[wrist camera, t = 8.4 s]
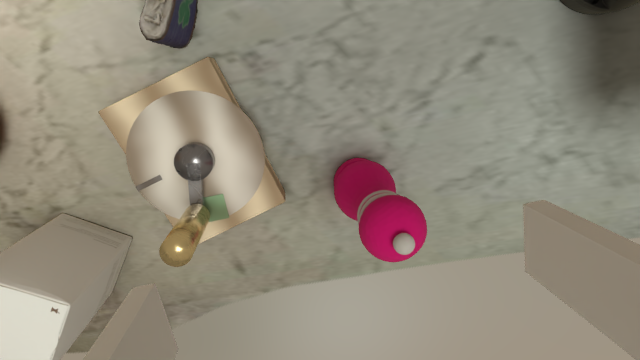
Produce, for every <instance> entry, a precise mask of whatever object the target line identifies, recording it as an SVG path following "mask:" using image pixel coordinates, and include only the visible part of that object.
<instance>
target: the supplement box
mask: <svg viewBox="0 0 640 360" xmlns="http://www.w3.org/2000/svg"><path fill="white" fill-rule="evenodd" d="M131 241H132V237H130V236H127V235H125V234H122V233H119V232H116V231H113V230H110V229H107V228H105V227H102V226H99V225H96V224H93V223H90V222H88V221H85V220H82V219H79V218H76V217H73V216H70V215H67V214H64V213H62V214H60V215H59V216H57V217H55V218H54V219H52V220H51V221H49V222H48V223H46V224H44V225H43V226H41V227H40V228H38V229H37V230H35V231H33V232H32V233H30V234H29V235H27V236H26V237H24V238H22V239H21V240H19V241H18V242H16V243H15V244H13V245H12V246H10V247H8V248H7V249H5V250H4V251H2V252H0V360H61V358H62V357H63V356H64V354H65V353H66V352H67V351H68V349H69V348H70V347H71V345H72V344H73V343H74V341H75V340H76V339H77V337H78V336H79V335H80V333H81V332H82V331H83V330H84V328H85V327H86V326H87V324H88V323H89V322H90V320H91V319H92V318H93V317H94V315H95V314H96V313H97V311H98V310H99V309H100V307H101V306H102V305H103V303H104V302H105V301H106V300H107V298H108V297H109V296H110V294H111V293H112V291H113V289H114V286H115V284H116V281H117V278H118V276H119V273H120V270H121V268H122V265H123V262H124V260H125V257H126V254H127V252H128V249H129V246H130V244H131Z"/></svg>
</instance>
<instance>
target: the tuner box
mask: <svg viewBox="0 0 640 360" xmlns="http://www.w3.org/2000/svg"><path fill="white" fill-rule="evenodd" d="M98 112H99V114H100V116H101V117H102V119H103V120H104V122H105V123H106V125H107V126H108V128H109V129H110V131H111V132H112V134H113V135H114V137H115V138H116V140H117V142H118V143H119V145H120V146H121V148H122V149H123V151H124V152H125V154H126V158H127V165H128V169H129V173H130V175H131V178H132V180H133V182H134V184H135V185H136V188H137V190H138V191H139V192H140V193H141V194H142V196H143V197H144V198H145V199H146V200H147V201H148V202H149V203H150V204H152V205H153V206H154V207H155V208H157V209H158V210H160V211H162V212H163V213H164V214H165V215H166V217H167V218H168V220H169V221H170V223H171V224H172V226H173V227H174V226H175V225H176V223H177V222H178V220H179V219H180V217H181V216H182V214H183V213H184V212H185V210H186V209H187V208H188V207H189V206H190V200H189V188H188V180H186V179H184V178H182V177H181V176H180V175H179V174H178V173H177V171H176V169H175V167H174V157H175V154H176V153H177V151H178V150H179V149H180V148H182V147H183V146H184V145H186V144H188V143H191V142H200V143H203V144H205V145H207V146H208V147H209V148H210V149H211V150H212V152H213V154H214V157H215V165H214V167H213V169H212V171H211V172H210V174H209V175H208V176H207V177H206V178H204V179H203V185H204V199H205V207H206V208H207V209H208V210H209V212H210V220H209V222H208V224H207V227H206V229H205V231H204V233H203V235H202V237H201V239H200V241H199V243H201V242H203V241H206V240H208V239H210V238H212V237H214V236H216V235H218V234H220V233H222V232H224V231H226V230H228V229H230V228H232V227H234V226H236V225H238V224H240V223H242V222H245V221H247V220H249V219H251V218H253V217H255V216H257V215H259V214H261V213H263V212H265V211H267V210H269V209H271V208H273V207H275V206H277V205H279V204H282V203H284V202H285V191H284V189H283V187H282V185H281V183H280V181H279V179H278V178H277V176H276V174H275V172H274V170H273V168H272V166H271V164H270V163H269V161H268V159H267V157H266V155H265V153H264V148H263V144H262V141H261V137H260V135H259V133H258V131H257V129H256V127H255V126H254V124H253V122H252V121H251V120H250V118H249V117H248V116H247V115H246V114H245V113H244V112H243V111H242V110H241V108H240V106H239V104H238V102H237V101H236V99H235V97H234V95H233V93H232V91H231V89H230V87H229V85H228V84H227V82H226V80H225V78H224V76H223V74H222V72H221V70H220V69H219V67H218V65H217V63H216V61H215V59H214V58H210V57H206V58H204V59H202V60H200V61H198V62H196V63H194V64H192V65H190V66H188V67H186V68H184V69H182V70H180V71H178V72H176V73H174V74H172V75H170V76H168V77H166V78H164V79H162V80H160V81H158V82H156V83H154V84H152V85H150V86H148V87H146V88H144V89H142V90H140V91H138V92H136V93H134V94H132V95H130V96H128V97H126V98H124V99H122V100H120V101H118V102H116V103H114V104H112V105H110V106H108V107H106V108H104V109H102V110H100V111H98ZM199 243H198V244H199Z"/></svg>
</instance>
